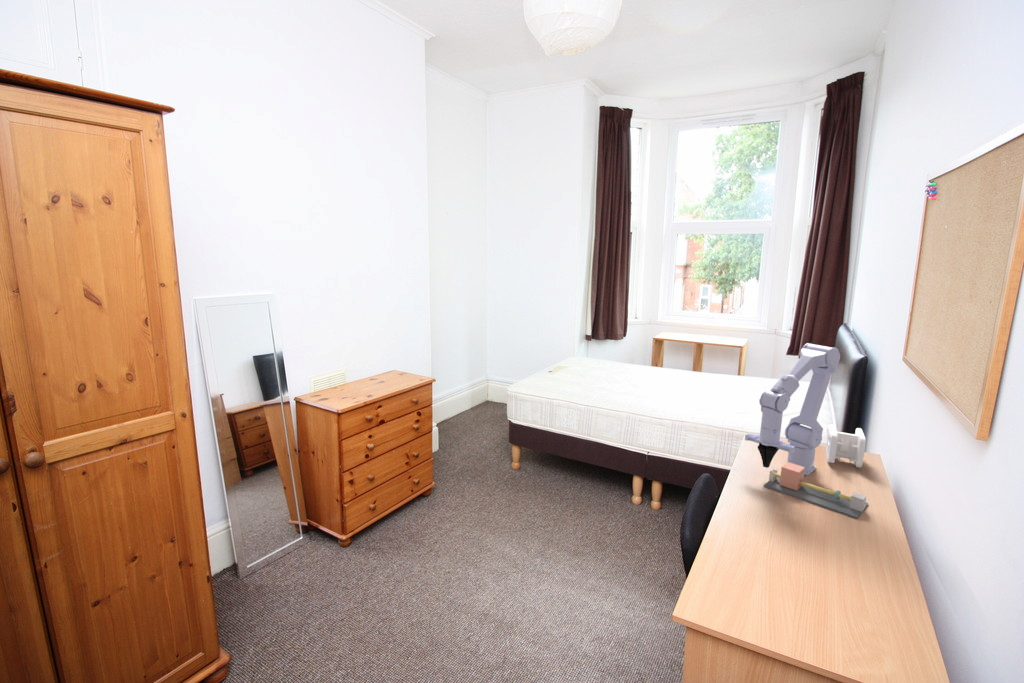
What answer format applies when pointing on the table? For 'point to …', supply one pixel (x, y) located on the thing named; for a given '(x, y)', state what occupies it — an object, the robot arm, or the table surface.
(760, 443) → the robot arm
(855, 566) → the table surface
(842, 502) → the cord rig
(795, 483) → the marker sleeve
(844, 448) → the cable organizer
